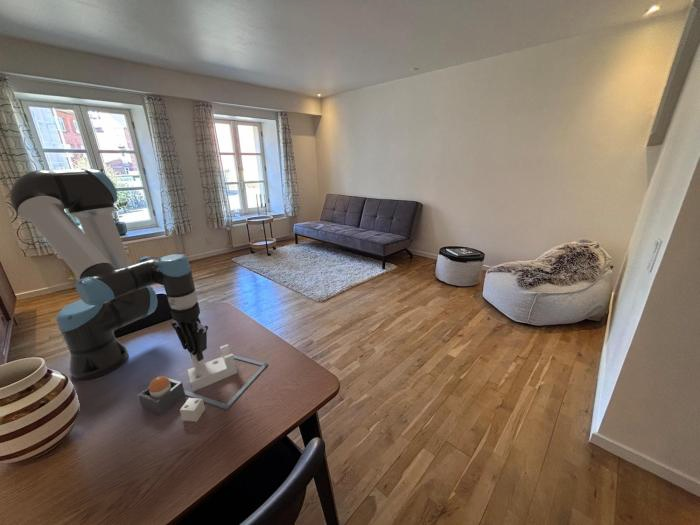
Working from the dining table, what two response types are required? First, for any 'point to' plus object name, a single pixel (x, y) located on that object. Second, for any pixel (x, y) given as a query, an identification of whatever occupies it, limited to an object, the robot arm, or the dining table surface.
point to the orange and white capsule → (159, 386)
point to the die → (192, 409)
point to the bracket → (213, 370)
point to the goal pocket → (226, 406)
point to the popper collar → (162, 398)
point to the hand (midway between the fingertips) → (199, 367)
